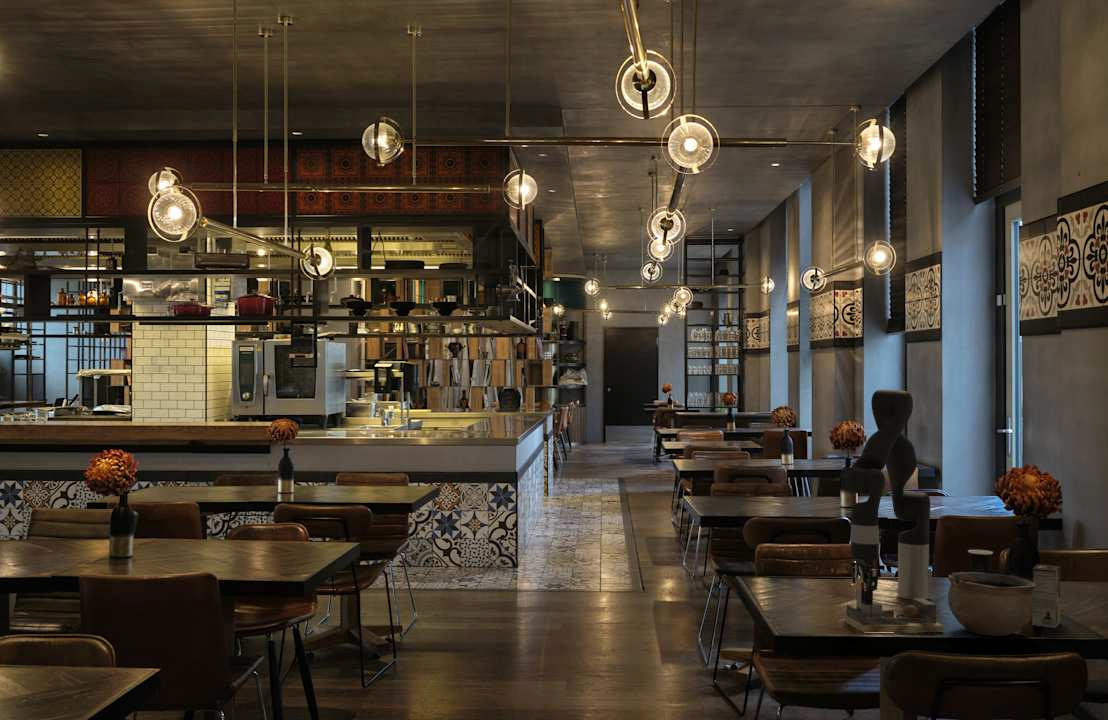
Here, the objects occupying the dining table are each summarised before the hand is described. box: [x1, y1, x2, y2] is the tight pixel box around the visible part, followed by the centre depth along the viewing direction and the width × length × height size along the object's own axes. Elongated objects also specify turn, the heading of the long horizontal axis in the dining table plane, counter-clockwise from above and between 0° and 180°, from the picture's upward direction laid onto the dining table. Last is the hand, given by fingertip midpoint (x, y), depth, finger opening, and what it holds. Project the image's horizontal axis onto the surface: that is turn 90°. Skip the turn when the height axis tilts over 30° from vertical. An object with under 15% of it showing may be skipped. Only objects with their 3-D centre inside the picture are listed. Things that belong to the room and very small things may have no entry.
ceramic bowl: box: [947, 571, 1036, 637], centre depth 280 cm, size 22×22×15 cm
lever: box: [855, 577, 884, 618], centre depth 285 cm, size 6×7×11 cm
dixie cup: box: [967, 549, 994, 574], centre depth 352 cm, size 8×8×11 cm
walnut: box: [902, 604, 918, 618], centre depth 286 cm, size 4×4×4 cm
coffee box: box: [1031, 563, 1061, 629], centre depth 292 cm, size 9×6×16 cm
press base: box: [844, 598, 944, 634], centre depth 286 cm, size 22×14×7 cm, turn 96°
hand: (864, 602), depth 285 cm, fingers open, 5 cm apart
